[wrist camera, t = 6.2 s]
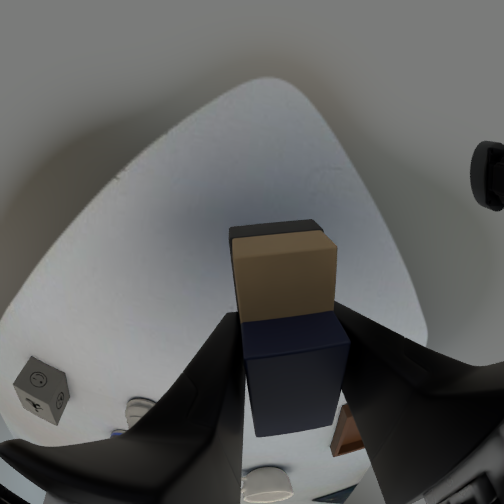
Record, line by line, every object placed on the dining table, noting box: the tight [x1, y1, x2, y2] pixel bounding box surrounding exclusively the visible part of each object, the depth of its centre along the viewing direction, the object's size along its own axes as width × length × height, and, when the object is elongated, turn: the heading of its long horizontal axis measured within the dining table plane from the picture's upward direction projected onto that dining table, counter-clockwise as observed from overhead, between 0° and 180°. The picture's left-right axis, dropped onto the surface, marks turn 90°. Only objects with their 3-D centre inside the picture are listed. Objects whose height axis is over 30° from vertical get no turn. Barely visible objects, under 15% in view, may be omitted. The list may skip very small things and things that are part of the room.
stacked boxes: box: [229, 219, 351, 437], centre depth 8 cm, size 6×3×4 cm, turn 5°
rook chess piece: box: [125, 398, 156, 429], centre depth 21 cm, size 4×4×8 cm
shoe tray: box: [330, 404, 365, 457], centre depth 28 cm, size 6×12×2 cm, turn 6°
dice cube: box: [13, 357, 70, 426], centre depth 20 cm, size 5×5×5 cm
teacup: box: [241, 467, 293, 503], centre depth 30 cm, size 10×8×5 cm
